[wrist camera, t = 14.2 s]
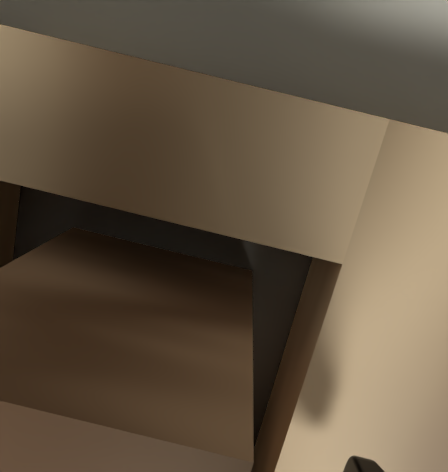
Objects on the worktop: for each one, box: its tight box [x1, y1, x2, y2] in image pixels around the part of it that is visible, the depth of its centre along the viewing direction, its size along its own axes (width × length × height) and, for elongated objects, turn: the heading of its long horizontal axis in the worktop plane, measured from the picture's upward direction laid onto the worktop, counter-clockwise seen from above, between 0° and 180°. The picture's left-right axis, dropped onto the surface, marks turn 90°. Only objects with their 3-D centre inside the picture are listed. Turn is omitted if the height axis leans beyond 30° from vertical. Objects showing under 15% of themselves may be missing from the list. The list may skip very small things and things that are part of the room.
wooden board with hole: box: [0, 24, 448, 472], centre depth 10 cm, size 20×16×2 cm
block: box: [0, 227, 254, 472], centre depth 8 cm, size 4×4×6 cm
